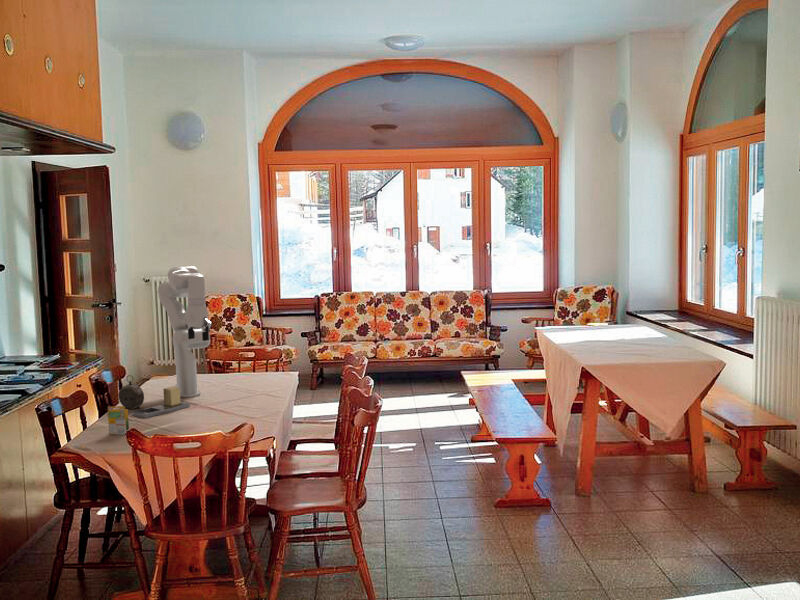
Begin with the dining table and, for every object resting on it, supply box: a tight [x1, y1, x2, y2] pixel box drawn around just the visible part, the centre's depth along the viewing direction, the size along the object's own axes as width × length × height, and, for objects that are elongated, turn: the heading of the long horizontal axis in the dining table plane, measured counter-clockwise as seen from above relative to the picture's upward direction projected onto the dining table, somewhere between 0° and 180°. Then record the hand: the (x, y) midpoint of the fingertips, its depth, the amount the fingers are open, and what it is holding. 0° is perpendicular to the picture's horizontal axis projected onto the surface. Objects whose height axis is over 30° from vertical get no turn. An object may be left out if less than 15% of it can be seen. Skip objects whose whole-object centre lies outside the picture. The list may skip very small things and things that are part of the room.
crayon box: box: [107, 405, 130, 435], centre depth 344 cm, size 7×3×12 cm, turn 86°
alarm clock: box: [118, 374, 145, 411], centre depth 381 cm, size 11×5×16 cm, turn 71°
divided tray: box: [131, 401, 191, 419], centre depth 376 cm, size 9×24×2 cm, turn 143°
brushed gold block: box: [162, 386, 181, 407], centre depth 381 cm, size 5×5×9 cm
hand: (198, 339), depth 387 cm, fingers open, 9 cm apart
